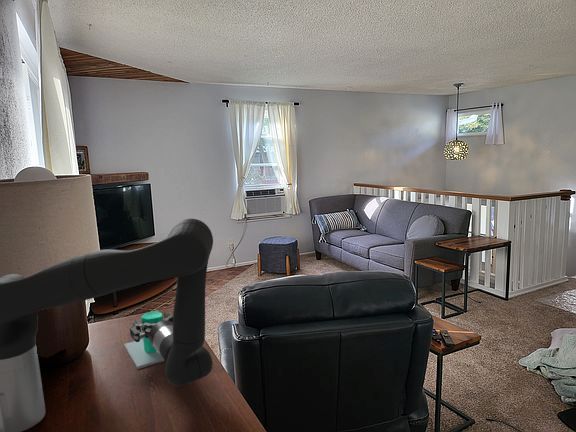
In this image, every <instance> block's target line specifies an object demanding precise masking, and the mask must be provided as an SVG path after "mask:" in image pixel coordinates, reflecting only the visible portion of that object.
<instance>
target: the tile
mask: <svg viewBox="0 0 576 432" xmlns="http://www.w3.org/2000/svg"><path fill="white" fill-rule="evenodd" d="M124 348H125V350H126V351H127V353H128V355H129V357H130V358H131V360H132V362H133V364H134V366H135V368H136V370H139V369H142V368H143V369H144V368H146V367H149V366H152V365H156V364H159V363H162V362H166V361H165V360H164V359H163V357H162V356H161V355H160V354H159V353H158V352H153V353H148V352H145V350H144V343H143V338H141V339H140V341H139V342H135V340H133V341H130V342H127V343H124Z"/></svg>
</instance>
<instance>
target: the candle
mask: <svg viewBox="0 0 576 432" xmlns="http://www.w3.org/2000/svg"><path fill="white" fill-rule="evenodd" d="M150 310H151V311H150V312H146V313H144V314H143V315H141V317H140V318H141V321H140V322H141V324H144V323H150V324H153V323H158V322H160V321H163V320H164V314H163V313H162V312H160V311H158V310H153V311H152V309H150ZM147 328H148V327H147ZM142 339H143V343H144V350H145V352H148V353H153V352H157V351H156V350H155V348H154V346H153V345H152V344H151V342H150V340H149V339H148V338H146V337H143V338H142Z"/></svg>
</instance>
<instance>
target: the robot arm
mask: <svg viewBox="0 0 576 432" xmlns="http://www.w3.org/2000/svg"><path fill="white" fill-rule="evenodd" d="M213 247H214V236H213V233H212V230H211V229H210V227H209V226H208V224H206V223H205V222H204V221H202V220H200V219H196V218H186V219H183V220H181V221H179V222H178V223H176V225H175V226H174V227H172V229H171V231H170V232H169V234H168V235H167V237H166V238H164V239H162V240H159V241H158V242H155V243H151V244H150V245H146V246H142V247H139V248H137V249H131V250H129V249H128V250H123V249H122V250H121V249H113V248H112V249H106V248H105V249H98V250H95V251H94V250H93V251H91V252H88V253H84V254H81V255H78V256H74V257H71V258H69V259H66V260H64V261H59V262H58V263H55V265H53V266H51V267H49V268H46V269H44V270H42V271H40V272H38V273H36V274H33V275H31V276H28V277H26V278H25V277H23V276H22V274H16V273H10V274H6V275H3V276H0V432H24V431H26V430H29V429H30V428H33V427H34V426H36V425H37V424H39V423H40V422H41V421H42V420H43V419H44V417H45V415H46V403H45V399H44V390H43V384H42V376H41V368H40V363H39V357H38V354H37V346H36V334H37V331H38V315H37V311H40V310H44V309H49V308H54V307H59V306H60V307H62V306H66V305H70V304H71V305H72V304H76V303H79V302H83V301H87V300H88V301H89V300H92V299H94V298H99V297H102V296H106V295H109V294H112V293H115V292H118V291H123V290H125V289H126V290H127V289H131V288H132V287H136V286H139V285H144V284H146V283H150V282H151V283H152V282H155V281H161V280H162V281H163V280H167V279H174V278H176V292H175V296H174V297H175V298H174V305H173V311H172V312H173V314H171V313H169V312H163V321H160V322H158V323H153V324H150V323H144V324H142V323H141V321H139V319H134V321H133V325H131V326H129V336H130V337H131V338H132V340H133V341H135V342H139V341H140V339H143V337H146V338H148V339H149V340H150V342H151V344H152V345H153V346H154V348H155V350H156V351H157V352H158V353H159V354H160V355H161V356H162V357H163V359H164V360H165V361H164V362H165V372H164V373H165V376H166V380H167V381H168V383H169V384H170V385H172V386H173V387H175V388H176V387H183V386H185V385H188V384H190V383H194V382H195V381H198V380H201V379H203V378H205V377H207V376H208V375H209V374H210V373H211V371H212V369H213V365H214V364H213V362H214V361H213V357H212V355H211V353H210V352H209V350H207V348H206V347H205V346H203V345H204V343H205V341H206V339H205V338H206V284H207V281H206V280H207V270H208V264H209V259H210V255H211V252H212V250H213ZM147 327H148V328H147Z"/></svg>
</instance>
